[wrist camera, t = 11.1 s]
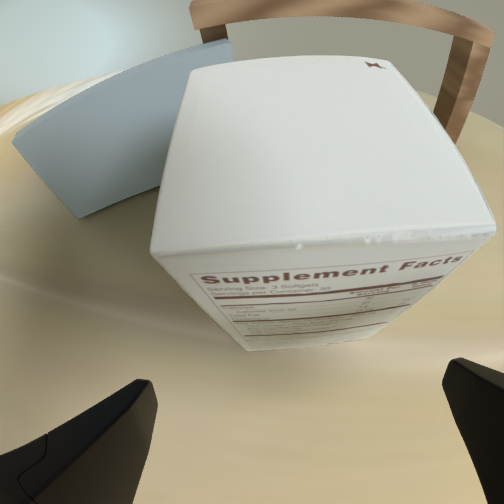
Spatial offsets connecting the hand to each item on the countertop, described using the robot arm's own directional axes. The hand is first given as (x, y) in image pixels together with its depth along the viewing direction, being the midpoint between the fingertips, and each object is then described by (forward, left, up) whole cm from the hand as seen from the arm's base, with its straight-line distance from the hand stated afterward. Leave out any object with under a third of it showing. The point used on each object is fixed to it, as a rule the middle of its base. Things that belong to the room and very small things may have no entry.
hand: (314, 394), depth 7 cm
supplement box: (+6, 0, -9) cm, 11 cm away
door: (+16, +11, -8) cm, 21 cm away
